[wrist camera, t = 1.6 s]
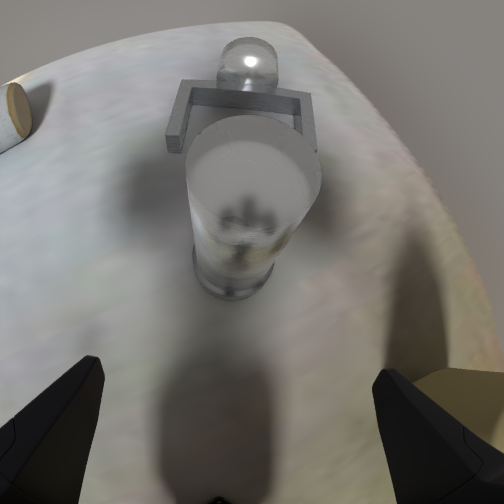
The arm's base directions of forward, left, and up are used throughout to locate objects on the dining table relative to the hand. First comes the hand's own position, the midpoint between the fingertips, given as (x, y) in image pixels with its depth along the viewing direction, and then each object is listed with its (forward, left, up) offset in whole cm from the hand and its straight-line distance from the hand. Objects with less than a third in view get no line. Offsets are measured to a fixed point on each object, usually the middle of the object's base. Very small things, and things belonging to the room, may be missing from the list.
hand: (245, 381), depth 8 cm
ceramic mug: (+35, +4, -13) cm, 38 cm away
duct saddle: (+16, -17, -13) cm, 27 cm away
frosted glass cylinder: (+5, -6, -13) cm, 15 cm away
